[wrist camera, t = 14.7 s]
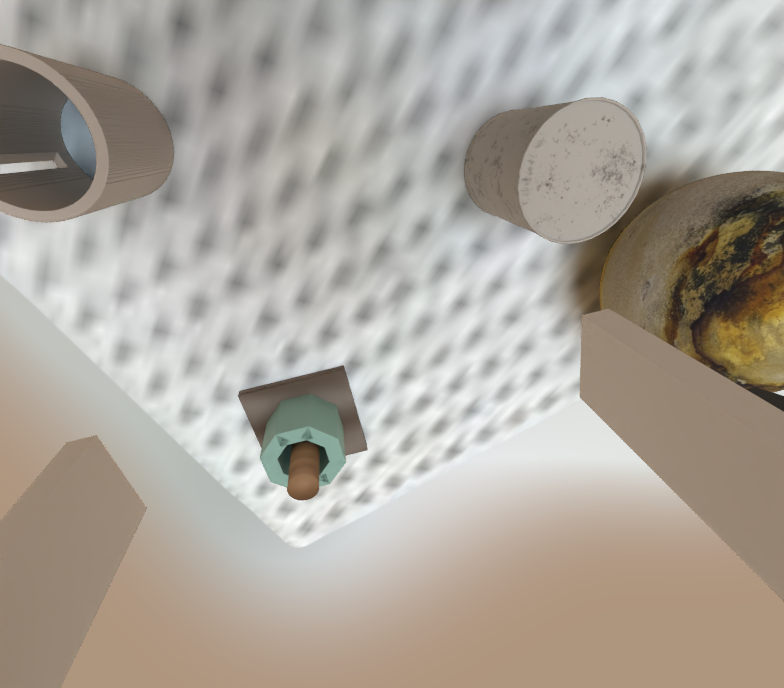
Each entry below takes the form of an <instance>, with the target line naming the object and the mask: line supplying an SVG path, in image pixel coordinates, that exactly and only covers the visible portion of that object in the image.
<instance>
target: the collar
mask: <svg viewBox="0 0 784 688" xmlns="http://www.w3.org/2000/svg"><path fill="white" fill-rule="evenodd" d="M305 440H308V441H310V442H313V443H315V444H318V445H320V448H319V487H320V486H324V485H328V484H330V483H331V482H332V480H333V479H334V478H335V476H336V475H337V474H338V472H339V471H340V470H341V468H342V467H343V466H344V464H345V463H346V458H345V443H344V429H343V425H342V422H341V419H340V415H339V412H338V409H337V406H336V405H334V404H332V403H330V402H328V401H326V400H323V399H321V398H319V397H317V396H314V395H312V394H307V395H303V396H299V397H295V398H291V399H287V400H282V401H281V402H280V403H279V405H278V406H277V408H276V409H275V411H274V412H273V414H272V416H271V417H270V419H269V420H268V422H267V425H266V430H265V435H264V440H263V445H262V450H261V455H260V460H261V462H262V464H263V466H264V468H265V471H266V473H267V475H268V477H269V479H270V481H271V482H273V483H276V484H278V485H281V486H284V487H287V486H288V476H289V466H290V457H291V447H292V444H293V443H297V442H301V441H305Z"/></svg>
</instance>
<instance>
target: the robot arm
mask: <svg viewBox="0 0 784 688" xmlns="http://www.w3.org/2000/svg"><path fill="white" fill-rule="evenodd" d="M580 398H581V399H582V400H583V401H584V402H585V403H586V404H587V405H588V406H589V407H590V408H591V409H592V410H593V411H594V412H595V413H596V414H597V415H598V416H599V417H600V418H601V419H602V420H603V421H604V422H605V423H606V424H607V425H608V426H609V427H610V428H611V429H612V430H613V431H614V432H615V433H616V434H617V435H618V436H619V437H620V438H621V439H622V440H623V441H624V442H625V443H626V444H627V445H628V446H629V447H630V448H631V449H632V450H633V451H634V452H635V453H636V454H637V455H638V456H639V457H640V458H641V459H642V460H643V461H644V462H645V463H646V464H647V465H648V466H649V467H650V468H651V469H652V470H653V471H654V472H655V473H656V474H657V475H658V476H659V477H660V478H661V479H662V480H663V481H664V482H665V483H666V484H667V485H668V486H669V487H670V488H671V489H672V490H673V491H674V492H675V493H676V494H677V495H678V496H679V497H680V498H681V499H682V500H683V501H684V502H685V503H686V504H687V505H688V506H689V507H690V508H691V509H692V510H693V511H694V512H695V513H696V514H697V515H698V516H699V517H700V518H701V519H702V520H703V521H704V522H705V523H706V524H707V525H708V526H709V527H710V528H711V529H712V530H713V531H714V532H715V533H716V534H717V535H718V536H719V537H720V538H721V539H722V540H723V541H724V542H725V543H726V544H727V545H728V546H729V547H730V548H731V549H732V550H733V551H734V552H735V553H736V554H737V555H738V556H739V557H740V558H741V559H742V560H743V561H744V562H745V563H746V564H747V565H748V566H749V567H750V568H751V569H752V570H753V571H754V572H755V573H756V574H757V575H758V576H759V577H760V578H761V579H762V580H763V581H764V582H765V583H766V584H767V585H768V586H769V587H770V588H771V589H772V590H773V591H774V592H775V593H776V594H777V595H778V596H779V597H780V598H781V599H782V600H783V601H784V396H782V395H778V394H775V393H773V392H770V391H767V390H764V389H761V388H758V387H753V388H749V389H744V388H743V387H741V386H739V385H737V384H736V383H734V382H732V381H731V380H729V379H727V378H726V377H724V376H722V375H721V374H719V373H717V372H715V371H714V370H712V369H710V368H709V367H707V366H705V365H704V364H702V363H700V362H698V361H697V360H695V359H693V358H692V357H690V356H688V355H687V354H685V353H683V352H682V351H680V350H678V349H676V348H675V347H673V346H671V345H670V344H668V343H666V342H665V341H663V340H661V339H659V338H658V337H656V336H654V335H653V334H651V333H649V332H648V331H646V330H644V329H643V328H641V327H639V326H637V325H636V324H634V323H632V322H631V321H629V320H627V319H626V318H624V317H622V316H621V315H619V314H617V313H615V312H614V311H612V310H610V309H605V310H601V311H597V312H593V313H589V314H585V315H582V332H581V369H580ZM146 508H147V507H146V506H145V505H144V503H143V502H142V500H141V499H140V497H139V496H138V494H137V493H136V492H135V490H134V489H133V487H132V486H131V484H130V483H129V482H128V480H127V478H126V477H125V476H124V474H123V473H122V471H121V470H120V468H119V467H118V465H117V464H116V463H115V461H114V460H113V458H112V457H111V455H110V454H109V452H108V451H107V450H106V448H105V447H104V445H103V444H102V442H101V441H100V440H99V438H98V437H97V436H91V437H88V438H83V439H79V440H75V441H72V442H67V443H66V444H65V445H64V446H63V448H62V449H61V450H60V451H59V452H58V454H57V455H56V456H55V457H54V458H53V459H52V460H51V462H50V463H49V464H48V465H47V466H46V468H45V469H44V470H43V471H42V472H41V473H40V475H39V476H38V477H37V478H36V479H35V481H34V482H33V483H32V484H31V485H30V487H29V488H28V489H27V490H26V491H25V492H24V493H23V495H22V496H21V497H20V498H19V499H18V501H17V502H16V503H15V504H14V505H13V506H12V508H11V509H10V510H9V511H8V512H7V513H6V515H5V516H4V517H3V518H2V519H1V521H0V688H61V686H62V684H63V682H64V680H65V678H66V676H67V674H68V672H69V670H70V667H71V666H72V664H73V661H74V659H75V657H76V655H77V653H78V651H79V649H80V647H81V645H82V643H83V640H84V638H85V636H86V634H87V632H88V630H89V628H90V626H91V624H92V622H93V620H94V618H95V615H96V613H97V611H98V609H99V607H100V605H101V603H102V601H103V599H104V597H105V594H106V592H107V590H108V588H109V586H110V584H111V582H112V580H113V578H114V576H115V574H116V572H117V570H118V567H119V565H120V563H121V561H122V559H123V557H124V555H125V553H126V551H127V549H128V547H129V545H130V542H131V540H132V538H133V536H134V534H135V532H136V530H137V528H138V526H139V524H140V522H141V520H142V517H143V515H144V513H145V511H146Z"/></svg>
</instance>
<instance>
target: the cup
mask: <svg viewBox="0 0 784 688" xmlns="http://www.w3.org/2000/svg"><path fill="white" fill-rule="evenodd" d="M67 99H71V101H72V103H74V105H75V106H76V107H77V109H78V111H79V112H80V113H81V114H82V116H83V119H85V122H86V123H87V125H88V128H89V129H90V133H91V134H92V139H93V141H94V144H95V145H94V146H95V151H96V159H97V160H96V161H97V162H96V166H97V167H96V171H95V175H94V179H92V178H91V177H90V176H88V175H87V174H86V173H84V171H82V170H81V168H79V166H78V165H77V164H76V163H75V162H74V160H73V159H72V157H71V156H70V155H69V153H68V151H67V149H66V147H65V145H64V141H63V140H62V139H63V138H62V135H61V130H60V129H61V128H60V118H61V113H62V112H61V111H62V109H63V107H64V104H65V102H66V101H67ZM173 147H174V146H173V142H172V137H171V133H170V130H169V128H168V126H167V123H166V121H165V119H164V118H163V116H162V114H161V113H160V112H159V110H158V109H157V107H155V105H154V104H153V103H152V102H151V101H150V100H149V99H148V97H146V96H145V95H144V94H143V93H142V92H140V91H139V90H137V89H136V88H135V87H133V86H131V85H129V84H128V83H126V82H124V81H122V80H119V79H116V78H113V77H110V76H107V75H103V74H100V73H97V72H93V71H90V70H87V69H83V68H80V67H76V66H73V65H70V64H66V63H63V62H60V61H56V60H53V59H50V58H46V57H43V56H40V55H36V54H33V53H29V52H26V51H23V50H19V49H16V48H13V47H9V46H5V45H1V44H0V164H9V163H22V162H35V161H49V160H53V161H54V162H55V163H56V165H57V167H58V168H55V169H45V170H36V171H27V172H17V173H8V174H0V211H1V212H4V213H6V214H8V215H11V216H14V217H16V218H17V217H18V218H21V219H24V220H29V221H35V222H45V223H46V222H60V221H65V220H69V219H72V218H76V217H79V216H82V215H85V214H88V213H92V212H95V211H98V210H101V209H104V208H107V207H111V206H114V205H117V204H120V203H123V202H127V201H130V200H133V199H136V198H139V197H143V196H146V195H148V194H151V193H152V192H154V191H155V190H157V189H158V188H159V187H161V185H162V184H163V183H164V182H165V180H166V179H167V177H168V176H169V174H170V172H171V171H170V170H171V168H172V164H173V158H174V157H173V155H174V150H173V149H174V148H173Z"/></svg>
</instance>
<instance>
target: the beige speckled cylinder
mask: <svg viewBox="0 0 784 688" xmlns="http://www.w3.org/2000/svg"><path fill="white" fill-rule="evenodd" d="M646 153H647V148H646V142H645V137H644V133H643V130H642V128H641V126H640V124H639V121H638V120H637V118H636V117H635V116H634V115H633V114H632V112H631V111H630V110H629V109H628V108H626V107H625V106H623V105H622V104H620V103H619V102H617V101H614V100H610V99H607V98H603V97H600V98H585V99H581V100H578V101H575V102H568V103H562V104H555V105H549V106H542V107H536V108H529V109H523V110H510V111H507V112H503V113H500V114H498V115H497V116H495V117H493V118H492V119H490V120H489V121H488V122H487V123H485V124H484V125H483V126H482V127H481V128H480V129H479V131H478V132H477V134H476V135H475V136H474V138H473V140H472V142H471V144H470V146H469V148H468V151H467V155H466V159H465V168H464V176H465V182H466V187H467V190H468V192H469V195H470V197H471V198H472V200H473V201H474V202H475V204H476V205H477V206H478V207H479V208H481V209H482V210H483V211H484V212H487V213H489V214H491V215H493V216H498V217H500V218H502V219H505V220H507V221H509V222H511V223H514V224H516V225H518V226H521V227H523V228H525V229H528V230H530V231H532V232H534V233H537V234H538V235H539V236H541V237H543V238H545V239H547V240H549V241H552V242H556V243H562V244H571V243H580V242H583V241H586V240H589V239H592V238H594V237H596V236H598V235H600V234H602V233H603V232H605V231H606V230H608V229H609V228H610V227H611V226H613V225H614V224H615V223H616V222H617V221H618V220H619V219H620V218H621V217H622V216H623V214H624V213H625V212H626V211H627V210H628V208H629V207H630V205H631V203H632V202H633V200H634V199H635V197H636V195H637V193H638V190H639V188H640V186H641V183H642V181H643V176H644V172H645V167H646Z"/></svg>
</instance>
